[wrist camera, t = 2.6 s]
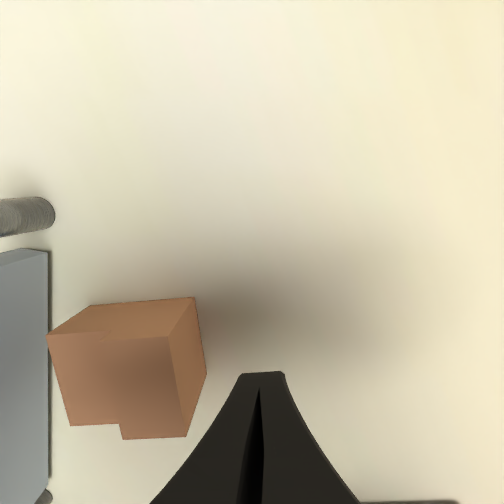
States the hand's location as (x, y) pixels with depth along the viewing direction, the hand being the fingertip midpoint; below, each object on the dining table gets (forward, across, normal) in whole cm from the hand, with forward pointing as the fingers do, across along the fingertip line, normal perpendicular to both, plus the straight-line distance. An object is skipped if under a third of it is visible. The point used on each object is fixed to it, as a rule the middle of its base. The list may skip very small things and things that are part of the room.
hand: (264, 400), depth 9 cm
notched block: (+5, +6, 0) cm, 7 cm away
